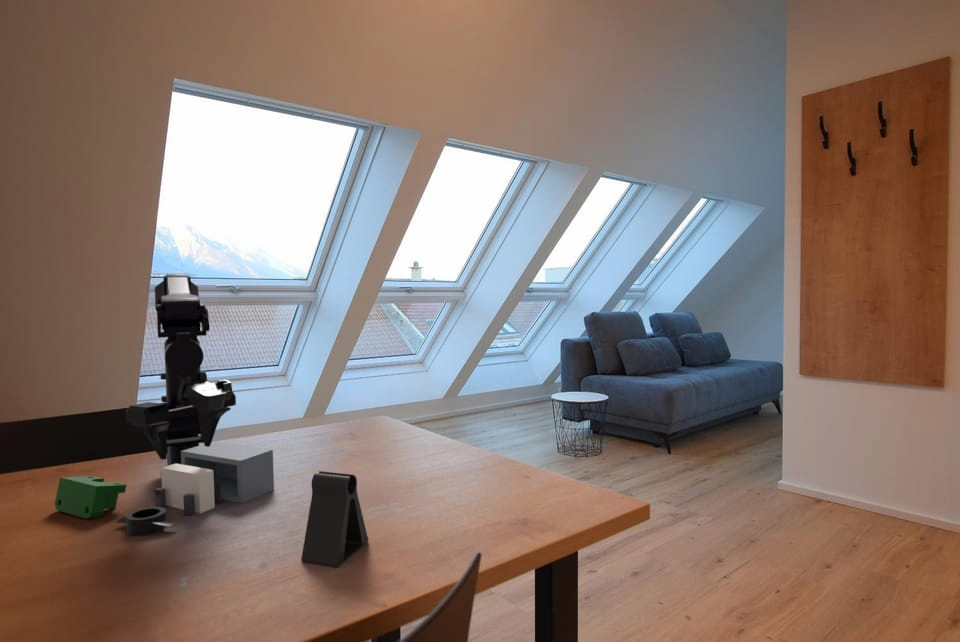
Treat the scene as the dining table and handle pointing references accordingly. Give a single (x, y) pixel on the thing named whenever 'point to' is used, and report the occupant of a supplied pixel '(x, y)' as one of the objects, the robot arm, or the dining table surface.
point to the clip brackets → (185, 499)
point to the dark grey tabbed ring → (145, 521)
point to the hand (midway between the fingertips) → (186, 452)
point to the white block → (188, 486)
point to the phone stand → (333, 520)
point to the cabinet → (234, 468)
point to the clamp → (87, 495)
